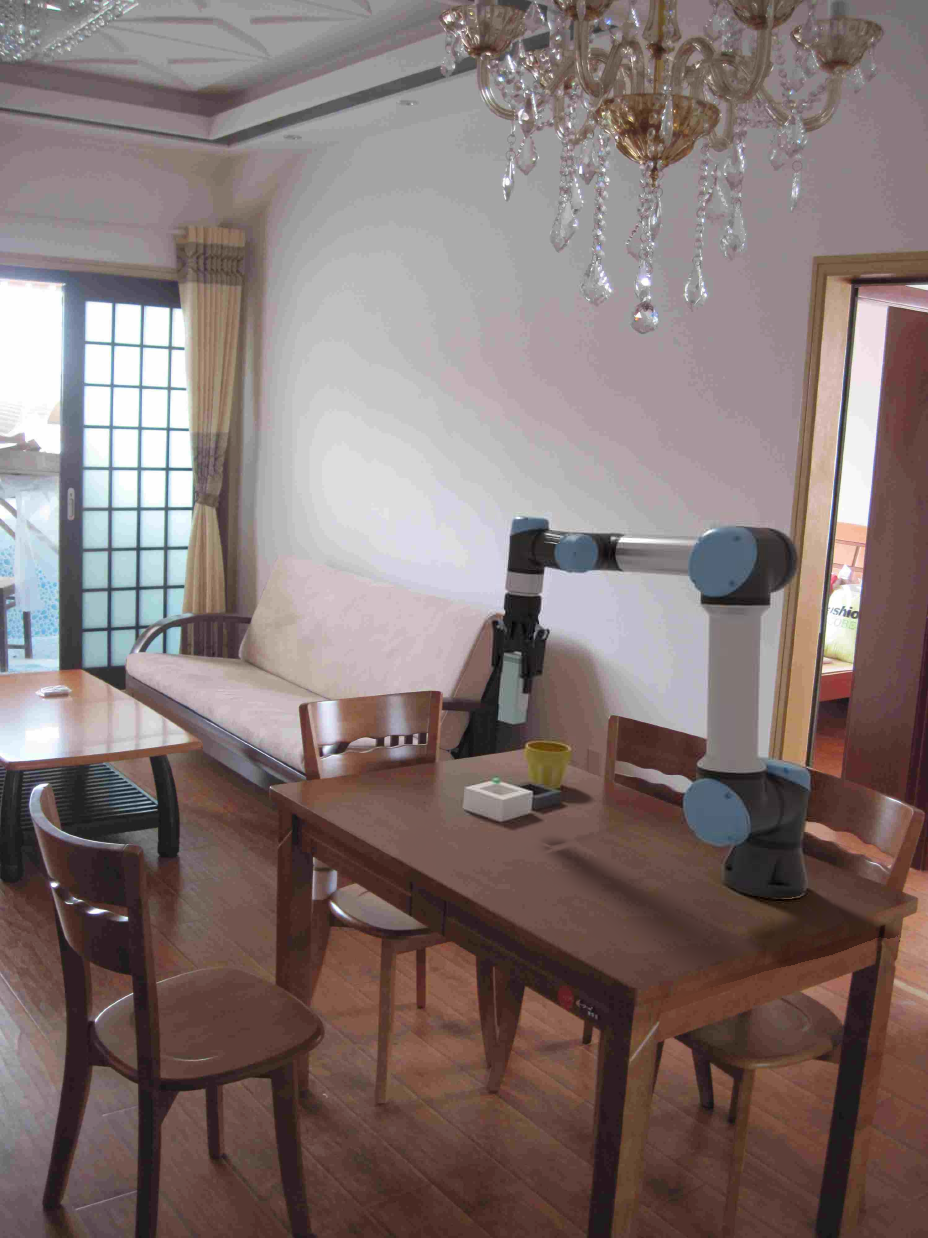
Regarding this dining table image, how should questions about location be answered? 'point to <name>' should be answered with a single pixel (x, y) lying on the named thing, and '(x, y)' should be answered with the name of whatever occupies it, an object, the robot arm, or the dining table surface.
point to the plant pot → (547, 762)
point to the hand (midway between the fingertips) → (512, 706)
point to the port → (497, 800)
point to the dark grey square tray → (541, 795)
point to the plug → (511, 689)
